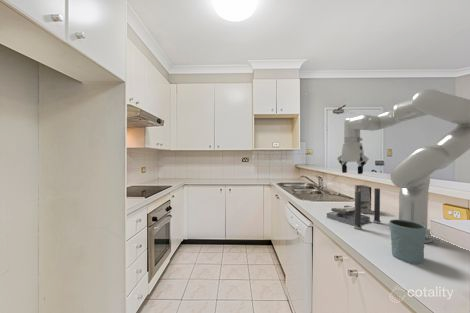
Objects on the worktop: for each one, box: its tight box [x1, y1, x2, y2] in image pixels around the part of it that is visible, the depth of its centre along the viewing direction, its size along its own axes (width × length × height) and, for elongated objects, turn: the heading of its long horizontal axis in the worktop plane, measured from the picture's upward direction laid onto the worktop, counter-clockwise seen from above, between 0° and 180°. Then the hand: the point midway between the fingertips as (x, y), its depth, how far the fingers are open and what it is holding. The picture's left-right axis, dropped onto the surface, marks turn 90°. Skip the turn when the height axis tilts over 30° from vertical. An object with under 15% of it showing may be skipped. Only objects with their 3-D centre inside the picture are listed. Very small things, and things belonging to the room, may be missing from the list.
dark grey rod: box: [353, 190, 363, 231], centre depth 103 cm, size 3×3×18 cm
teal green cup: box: [388, 219, 426, 265], centre depth 75 cm, size 10×10×12 cm
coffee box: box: [354, 184, 372, 215], centre depth 132 cm, size 9×6×16 cm
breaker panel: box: [326, 205, 371, 227], centre depth 117 cm, size 16×15×6 cm
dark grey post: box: [372, 187, 382, 225], centre depth 111 cm, size 3×3×18 cm
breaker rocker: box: [336, 206, 355, 211], centre depth 118 cm, size 9×4×2 cm, turn 29°
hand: (352, 173), depth 114 cm, fingers open, 8 cm apart
